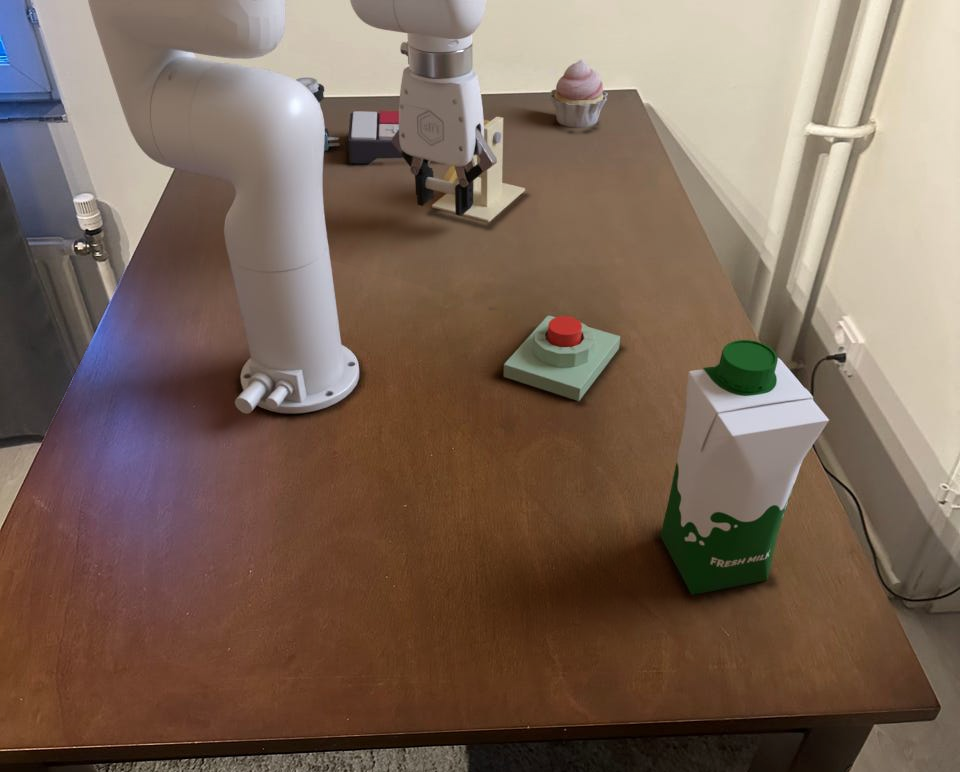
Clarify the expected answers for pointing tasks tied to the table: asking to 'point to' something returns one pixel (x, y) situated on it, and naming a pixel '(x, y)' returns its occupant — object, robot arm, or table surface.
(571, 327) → the red button
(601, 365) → the switch box
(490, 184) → the switch bracket
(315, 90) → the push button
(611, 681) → the table surface
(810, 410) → the milk carton
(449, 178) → the switch lever
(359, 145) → the calculator
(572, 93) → the cupcake
